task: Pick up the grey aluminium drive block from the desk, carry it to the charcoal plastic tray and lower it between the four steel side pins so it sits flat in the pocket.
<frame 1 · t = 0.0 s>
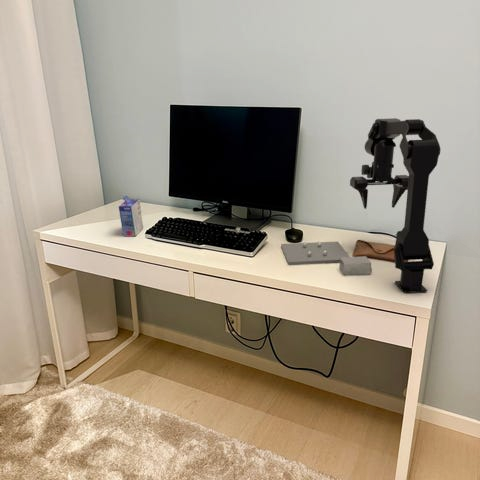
hand: (378, 207, 142), 15 cm above the table, tool pointing down, fingers open, 9 cm apart
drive: (354, 272, 132), on the table
ink cartridge box: (133, 232, 171), on the table
sunglasses case: (380, 257, 143), on the table
pin tray: (314, 253, 145), on the table
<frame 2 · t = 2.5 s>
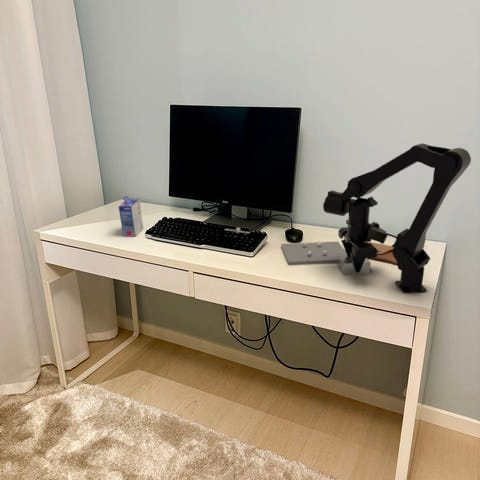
hand: (354, 268, 131), 1 cm above the table, tool pointing down, fingers closed on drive, 5 cm apart
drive: (353, 271, 132), on the table, touching gripper
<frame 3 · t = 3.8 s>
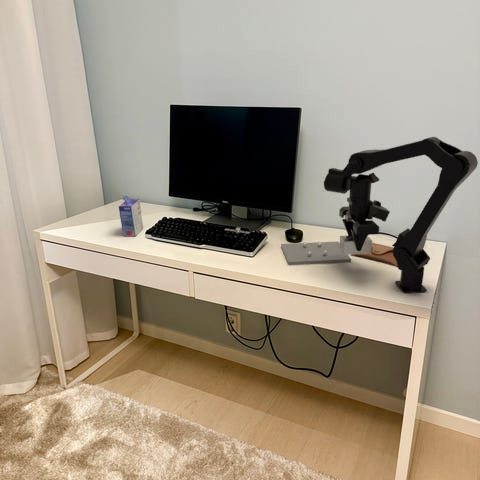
hand: (356, 247, 129), 8 cm above the table, tool pointing down, fingers closed on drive, 5 cm apart
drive: (354, 250, 129), point 7 cm above the table, touching gripper
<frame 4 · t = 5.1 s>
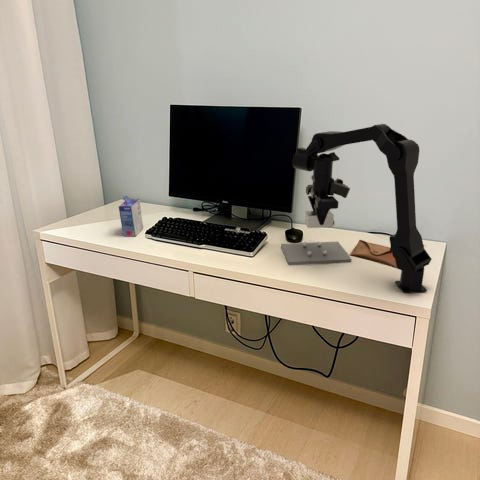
hand: (319, 222, 140), 12 cm above the table, tool pointing down, fingers closed on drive, 5 cm apart
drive: (318, 225, 140), point 11 cm above the table, touching gripper
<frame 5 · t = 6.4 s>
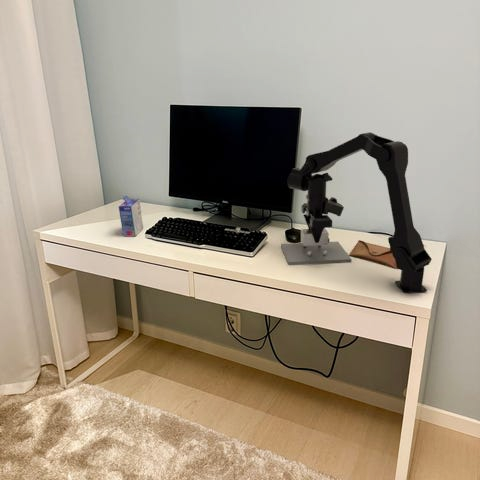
hand: (315, 239, 144), 5 cm above the table, tool pointing down, fingers closed on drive, 5 cm apart
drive: (314, 242, 144), point 4 cm above the table, touching gripper
when the fingers open (3 cm above the table, at t = 7.5 s): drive drops 1 cm, resting on pin tray.
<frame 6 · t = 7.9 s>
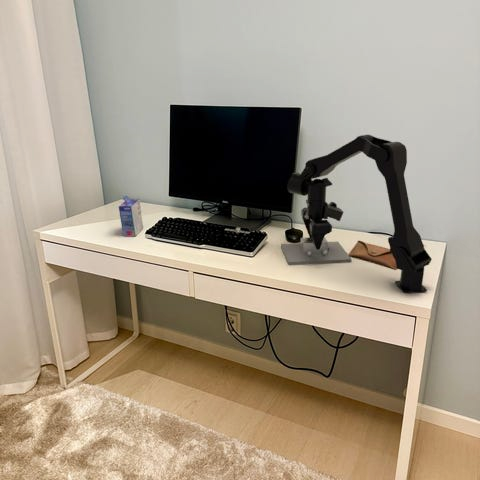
hand: (314, 244, 144), 3 cm above the table, tool pointing down, fingers open, 9 cm apart
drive: (313, 251, 145), point 1 cm above the table, touching pin tray
sunglasses case: (375, 260, 141), on the table, touching pin tray
everything else where it was.
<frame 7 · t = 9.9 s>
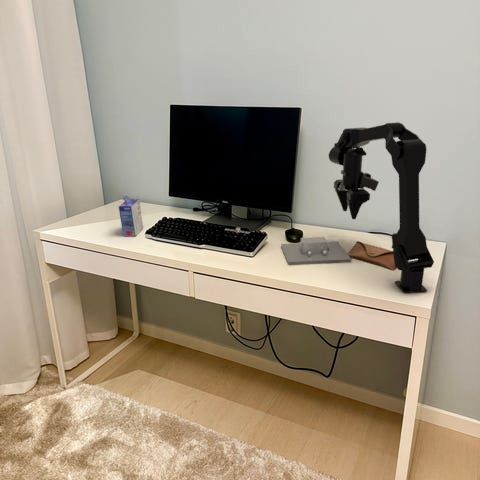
hand: (349, 215, 145), 12 cm above the table, tool pointing down, fingers open, 9 cm apart
sunglasses case: (374, 261, 140), on the table
everything else where it was.
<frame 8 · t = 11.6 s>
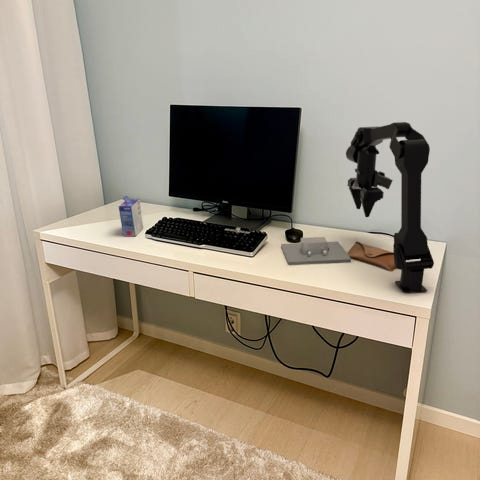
hand: (362, 212, 147), 12 cm above the table, tool pointing down, fingers open, 9 cm apart
at the end: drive 0.3 cm off-centre on the pin tray, point 1.0 cm above the pin tray's base; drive tilted 0°; the gripper is holding nothing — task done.
